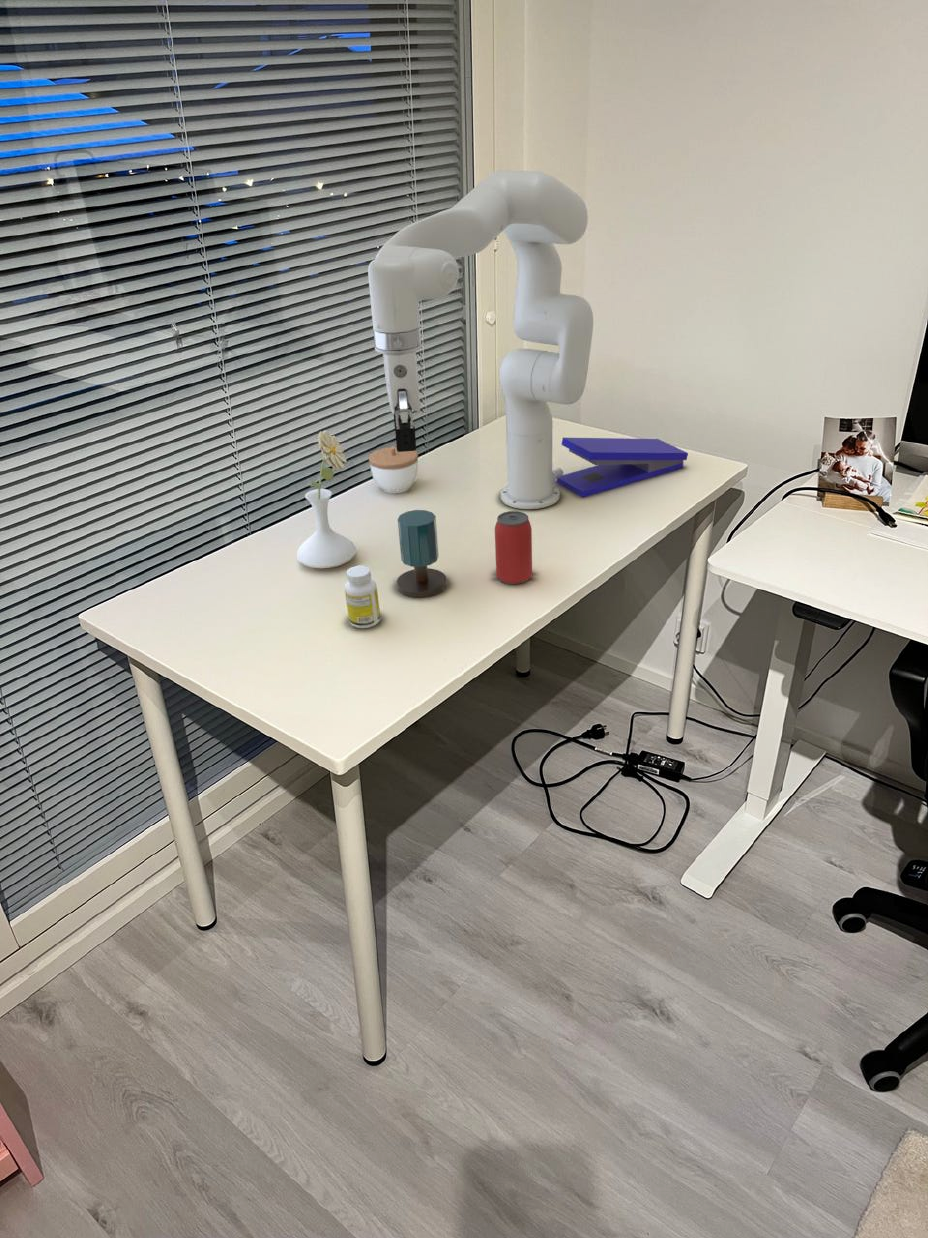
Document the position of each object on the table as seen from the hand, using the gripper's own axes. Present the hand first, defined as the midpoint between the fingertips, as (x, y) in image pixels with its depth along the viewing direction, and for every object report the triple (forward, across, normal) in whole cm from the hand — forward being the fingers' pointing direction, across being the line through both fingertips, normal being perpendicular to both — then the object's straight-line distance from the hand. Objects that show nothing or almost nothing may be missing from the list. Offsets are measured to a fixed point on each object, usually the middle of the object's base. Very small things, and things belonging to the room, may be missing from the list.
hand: (405, 440), depth 162 cm
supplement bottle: (+27, -13, +10) cm, 32 cm away
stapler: (+27, +40, -48) cm, 68 cm away
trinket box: (+27, +43, +2) cm, 51 cm away
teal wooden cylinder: (+21, -2, -1) cm, 22 cm away
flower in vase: (+27, +12, +16) cm, 34 cm away
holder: (+27, -2, -1) cm, 27 cm away
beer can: (+27, -2, -18) cm, 33 cm away
